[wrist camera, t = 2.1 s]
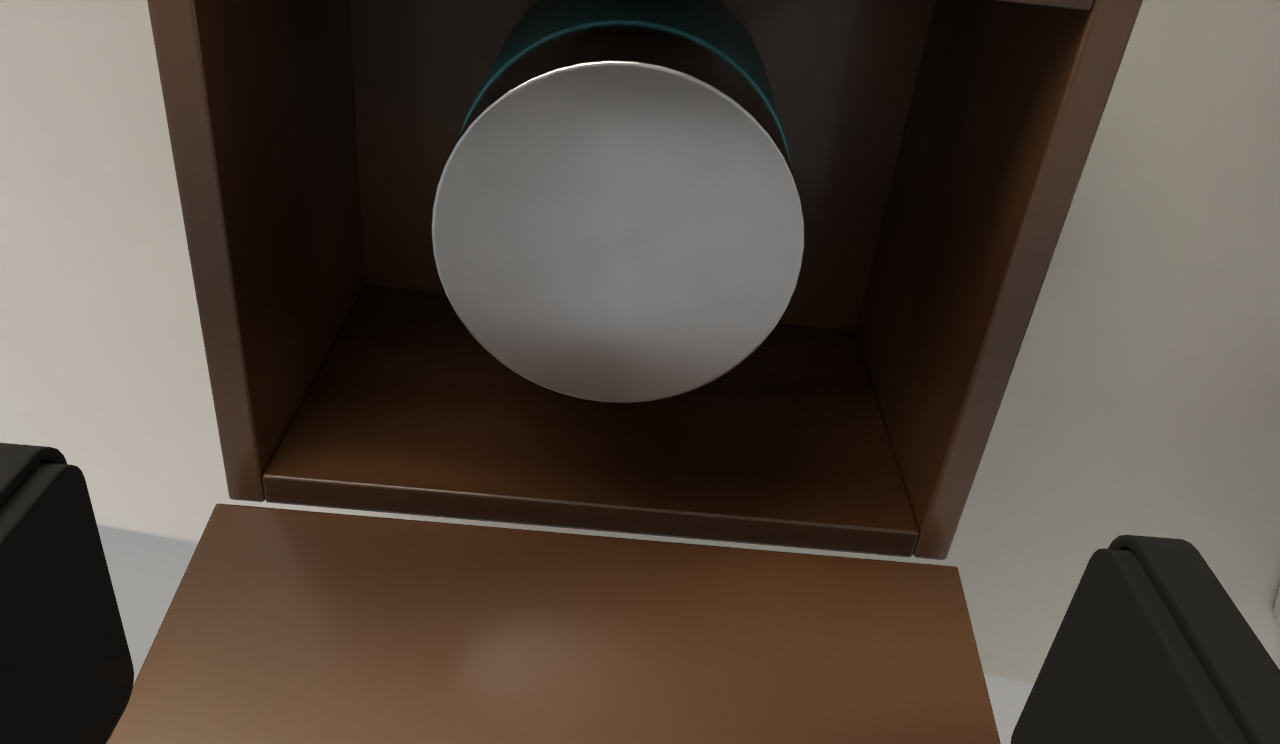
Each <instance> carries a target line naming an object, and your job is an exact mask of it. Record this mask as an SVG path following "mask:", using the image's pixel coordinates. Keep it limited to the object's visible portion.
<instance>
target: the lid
mask: <svg viewBox="0 0 1280 744" xmlns="http://www.w3.org/2000/svg"><path fill="white" fill-rule="evenodd" d="M107 744H1000V740H999V735H998V731H997V727H996V724H995V719H994V715H993V711H992V707H991V703H990V699H989V695H988V690H987V687H986V682H985V678H984V674H983V670H982V666H981V662H980V658H979V654H978V649H977V645H976V641H975V637H974V633H973V629H972V625H971V621H970V617H969V613H968V608H967V604H966V600H965V596H964V592H963V588H962V584H961V580H960V576H959V572H958V568H957V567H953V566H941V565H930V564H918V563H906V562H895V561H883V560H871V559H860V558H848V557H836V556H824V555H813V554H801V553H789V552H778V551H766V550H754V549H743V548H731V547H719V546H708V545H696V544H684V543H673V542H661V541H649V540H637V539H626V538H614V537H602V536H591V535H579V534H567V533H556V532H544V531H532V530H521V529H509V528H497V527H486V526H474V525H462V524H451V523H439V522H427V521H415V520H404V519H392V518H380V517H369V516H357V515H345V514H334V513H322V512H310V511H299V510H287V509H275V508H264V507H252V506H240V505H229V504H216V506H215V508H214V510H213V512H212V515H211V517H210V519H209V521H208V523H207V526H206V528H205V530H204V532H203V534H202V537H201V539H200V541H199V543H198V545H197V547H196V550H195V552H194V554H193V556H192V558H191V561H190V563H189V565H188V567H187V570H186V572H185V574H184V576H183V578H182V580H181V583H180V585H179V587H178V589H177V591H176V593H175V596H174V598H173V600H172V602H171V605H170V607H169V609H168V611H167V613H166V616H165V618H164V620H163V622H162V624H161V626H160V628H159V631H158V633H157V635H156V637H155V639H154V642H153V644H152V646H151V649H150V650H149V653H148V655H147V657H146V659H145V661H144V664H143V666H142V668H141V670H140V672H139V674H138V677H137V679H136V681H135V683H134V685H133V688H132V693H131V696H130V699H129V702H128V704H127V706H126V709H125V711H124V713H123V714H122V716H121V718H120V720H119V722H118V723H117V725H116V727H115V729H114V730H113V732H112V734H111V736H110V738H109V740H108V742H107Z"/></svg>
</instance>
